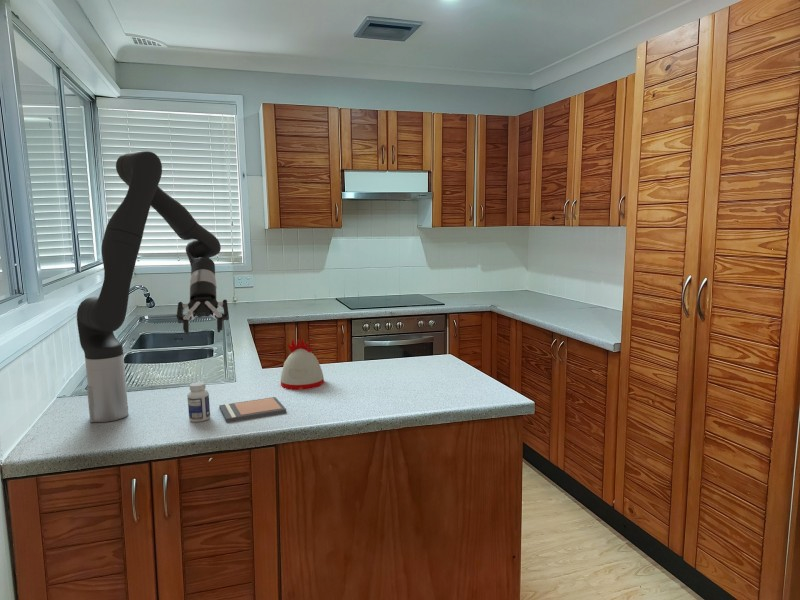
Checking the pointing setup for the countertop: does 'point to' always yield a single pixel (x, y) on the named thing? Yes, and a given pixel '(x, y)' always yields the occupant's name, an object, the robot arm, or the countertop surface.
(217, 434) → the countertop surface
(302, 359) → the white and red dome
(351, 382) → the countertop surface
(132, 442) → the countertop surface
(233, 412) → the line mat
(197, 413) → the pill bottle
